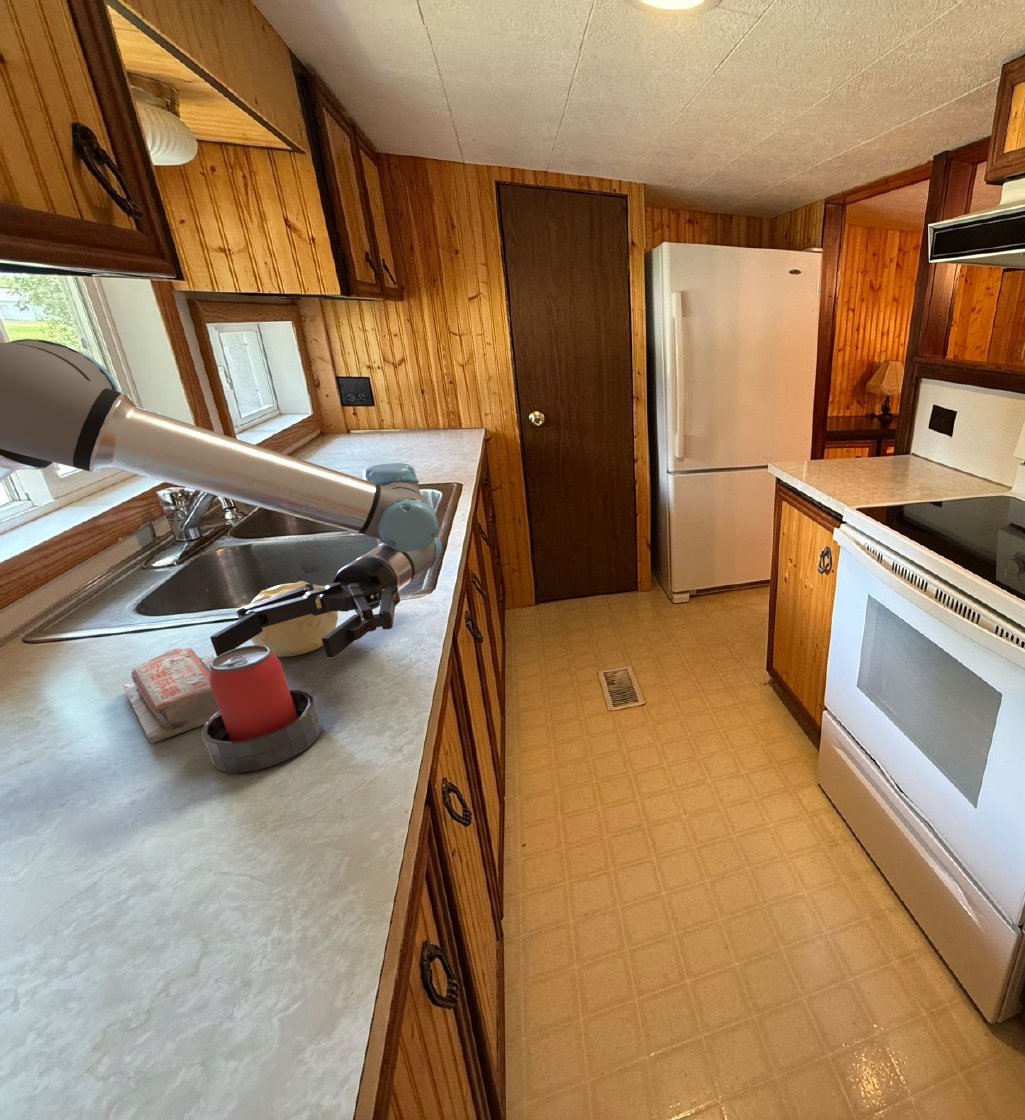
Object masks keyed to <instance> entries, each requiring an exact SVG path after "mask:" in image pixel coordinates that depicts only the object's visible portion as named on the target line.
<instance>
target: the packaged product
mask: <svg viewBox="0 0 1025 1120" xmlns="http://www.w3.org/2000/svg"><path fill="white" fill-rule="evenodd" d="M215 658H216V657H214V656H213V654H211V655H208V656H204V657H201V658H200V657H199V656H198V655H197V654H196V652H195V651H194V649H193V648H192V647H187V648H173V649H172V650H171V649H170V650H167V651H165V652H164V653H163V654H161V655H158V656H155V657H154V658H152V659H150V660H148V661H146V662H143V663H142V664H140V665H138V666H136V667H135V668H133V670H132V672H131V676H130V677H131V679H132V681H133V682H132V683H129V684H122V688H123V689H124V692H125V694H126V697H127V699H128V701H129V702H130V704H131V706H132V707H133V710H134V713H135V715H136V717H137V719H138V721H139V723H140V725H141V727H142V730H143V731H144V733H145V734H146V737H147V738H148V741H149V742H151V743H153V744H154V743H157V742H160V741H162V740H165V739H169V738H170V737H173V736H176V735H179V734H183V733H184V732H188V731H190V730H193V729H195V728H198V727H202V726H205V724H206V723H207V722H208V721H209V720H210V719H211V718H212V717H213V716H215V715H216V714H217V713H219V712H220V710H219V708H218V705H217V702H216V700H215V697H214V694H213V691H212V689H211V686H210V672H211V668H210V663H211V662H212V660H213V659H215Z"/></svg>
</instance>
